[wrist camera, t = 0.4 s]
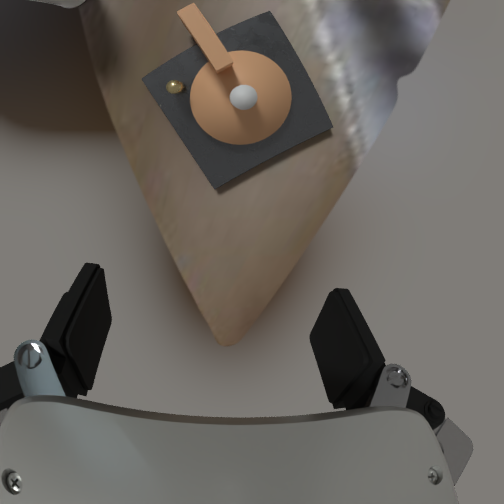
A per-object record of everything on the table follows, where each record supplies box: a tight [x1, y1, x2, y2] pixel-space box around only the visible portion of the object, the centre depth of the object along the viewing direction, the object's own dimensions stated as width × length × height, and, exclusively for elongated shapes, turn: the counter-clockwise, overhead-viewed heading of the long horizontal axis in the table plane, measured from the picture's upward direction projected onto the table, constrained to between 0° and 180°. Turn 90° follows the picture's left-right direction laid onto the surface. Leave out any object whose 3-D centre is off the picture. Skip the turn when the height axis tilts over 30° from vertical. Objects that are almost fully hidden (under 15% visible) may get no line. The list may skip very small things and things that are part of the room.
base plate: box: [142, 11, 333, 189], centre depth 29 cm, size 18×18×6 cm
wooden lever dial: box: [177, 3, 292, 145], centre depth 26 cm, size 12×18×6 cm, turn 29°
